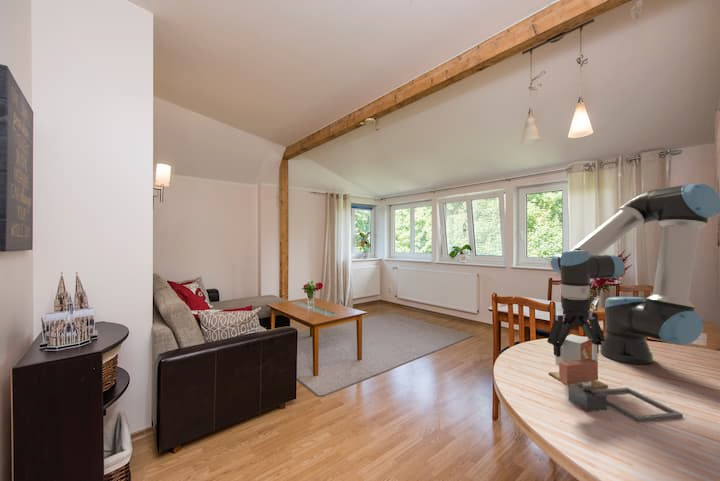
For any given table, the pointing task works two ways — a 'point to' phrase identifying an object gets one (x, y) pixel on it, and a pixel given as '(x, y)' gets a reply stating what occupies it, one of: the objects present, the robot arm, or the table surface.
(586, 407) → the key housing
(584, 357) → the small box
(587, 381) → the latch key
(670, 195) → the robot arm
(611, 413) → the table surface
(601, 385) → the cork pad
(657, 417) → the seat rim
